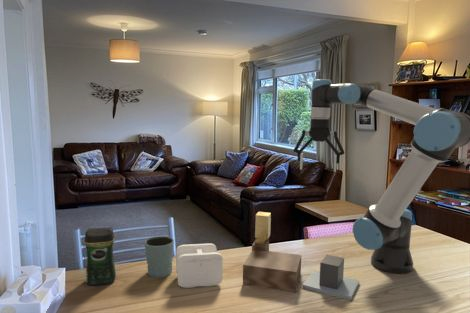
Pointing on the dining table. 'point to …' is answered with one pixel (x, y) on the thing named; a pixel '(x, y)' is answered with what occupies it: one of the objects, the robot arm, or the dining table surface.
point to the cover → (332, 279)
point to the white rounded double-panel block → (198, 265)
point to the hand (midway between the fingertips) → (317, 170)
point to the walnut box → (271, 268)
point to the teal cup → (159, 256)
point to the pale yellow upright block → (262, 227)
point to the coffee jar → (99, 256)
